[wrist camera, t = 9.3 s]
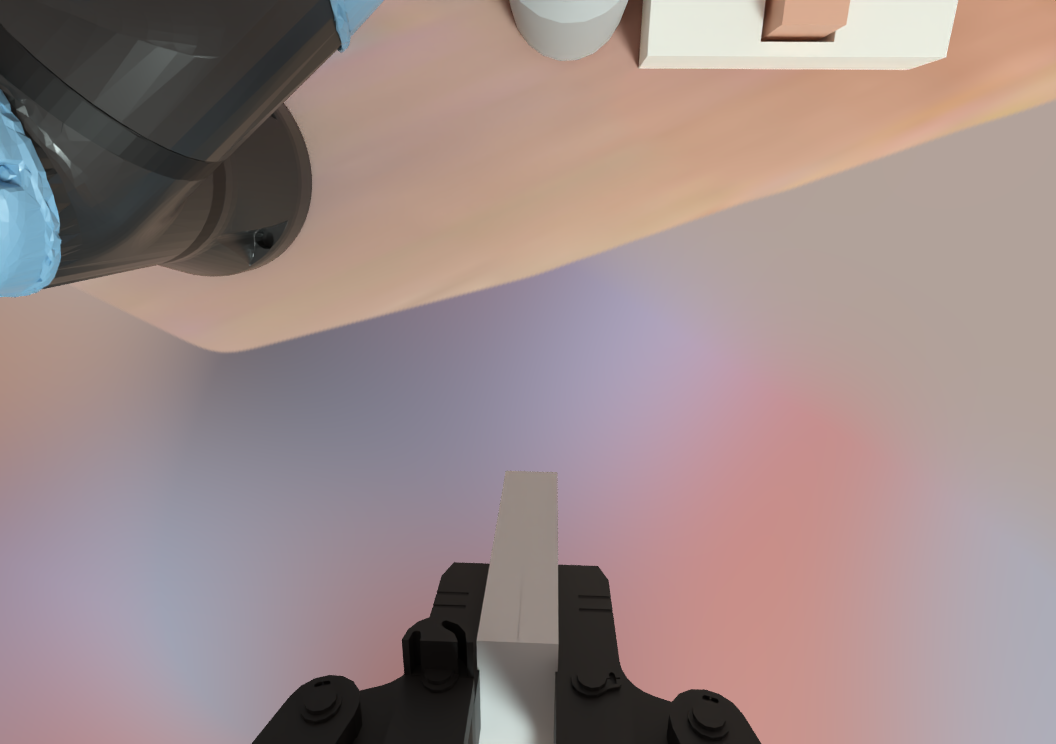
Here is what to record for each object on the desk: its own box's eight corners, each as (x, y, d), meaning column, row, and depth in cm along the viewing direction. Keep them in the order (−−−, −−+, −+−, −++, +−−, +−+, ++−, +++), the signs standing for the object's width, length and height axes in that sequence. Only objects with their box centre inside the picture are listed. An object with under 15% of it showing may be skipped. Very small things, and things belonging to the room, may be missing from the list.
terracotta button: (753, 44, 38) (781, 24, 33) (760, -20, 36) (791, -50, 32) (809, 45, 37) (846, 24, 33) (818, -20, 36) (858, -50, 32)
